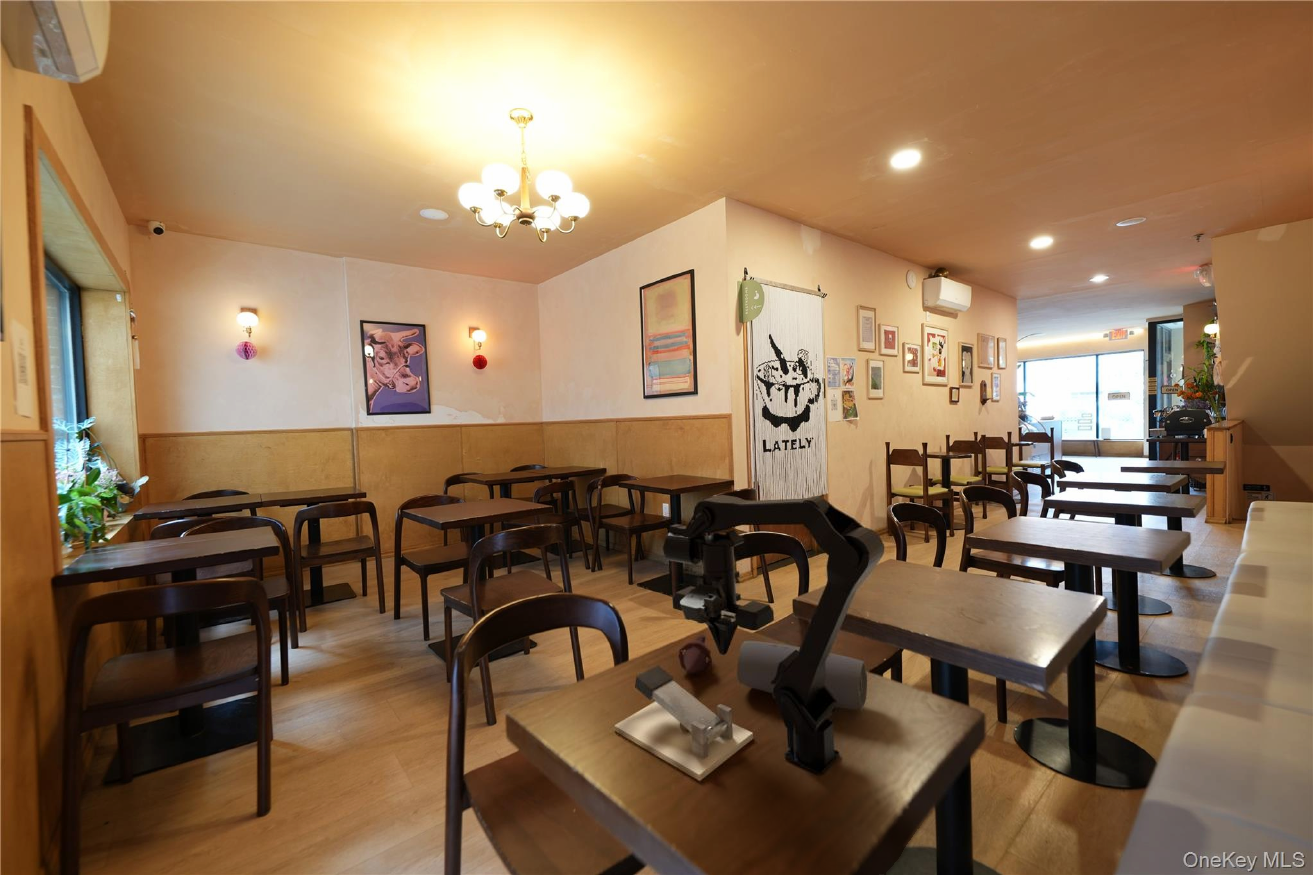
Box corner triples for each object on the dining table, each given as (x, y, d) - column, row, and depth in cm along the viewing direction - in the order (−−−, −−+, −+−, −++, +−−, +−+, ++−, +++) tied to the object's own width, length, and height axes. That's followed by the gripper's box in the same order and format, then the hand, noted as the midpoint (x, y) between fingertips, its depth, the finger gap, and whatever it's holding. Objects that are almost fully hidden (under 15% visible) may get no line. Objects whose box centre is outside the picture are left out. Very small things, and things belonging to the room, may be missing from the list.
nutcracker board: (753, 738, 93) (751, 704, 93) (699, 780, 83) (697, 743, 83) (668, 698, 107) (667, 669, 107) (614, 730, 98) (612, 698, 97)
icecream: (710, 660, 109) (720, 635, 123) (674, 649, 111) (689, 626, 125) (702, 694, 109) (713, 665, 124) (667, 681, 111) (682, 655, 126)
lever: (726, 732, 92) (728, 721, 91) (704, 747, 88) (707, 736, 87) (656, 675, 103) (658, 665, 103) (634, 686, 99) (636, 676, 99)
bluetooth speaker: (868, 701, 103) (866, 649, 102) (859, 727, 95) (858, 671, 94) (753, 677, 114) (751, 630, 114) (737, 698, 106) (734, 648, 106)
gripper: (649, 570, 97) (654, 656, 98) (733, 589, 84) (739, 688, 85) (689, 556, 105) (694, 635, 106) (773, 571, 92) (778, 661, 93)
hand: (723, 653), depth 97 cm, fingers closed
